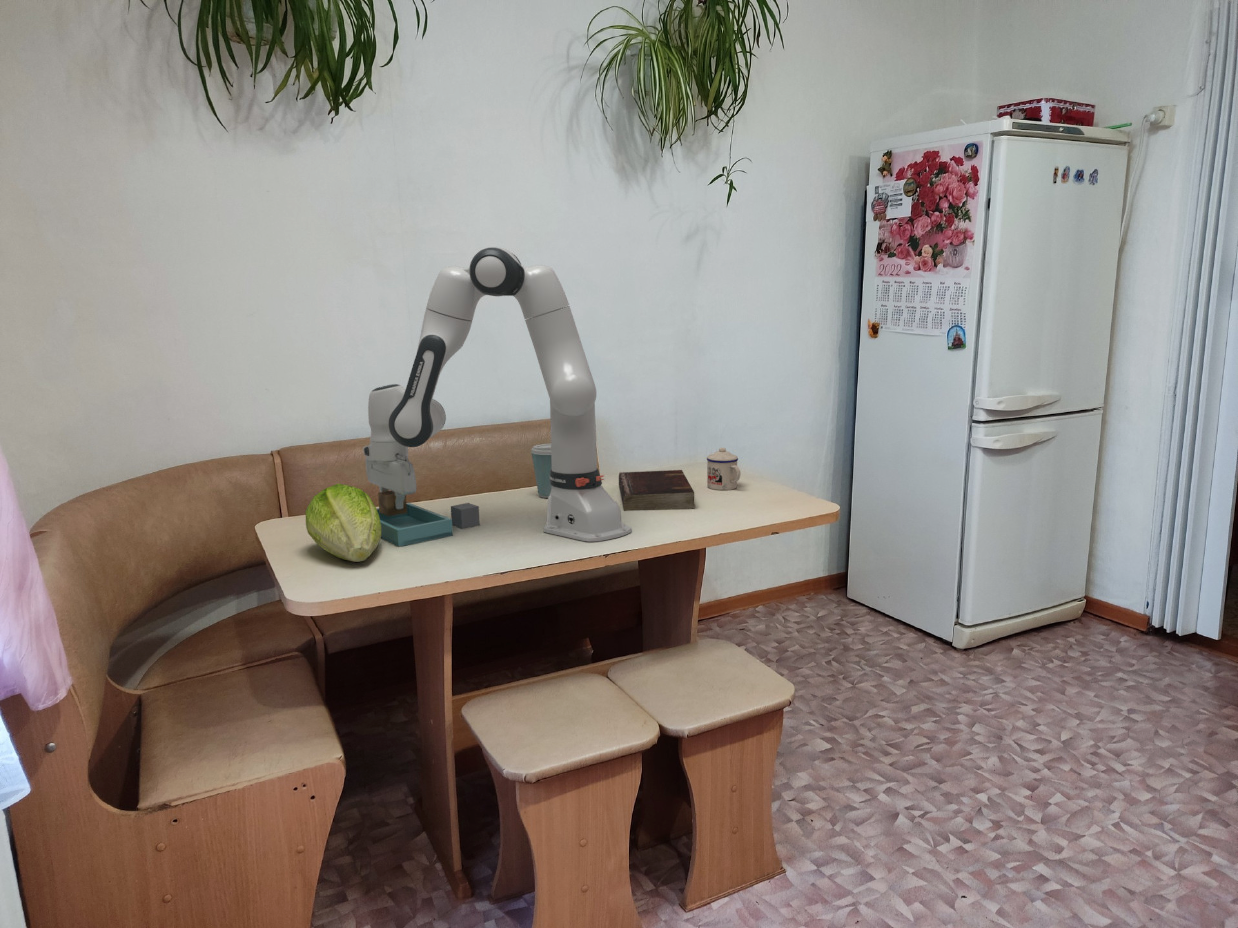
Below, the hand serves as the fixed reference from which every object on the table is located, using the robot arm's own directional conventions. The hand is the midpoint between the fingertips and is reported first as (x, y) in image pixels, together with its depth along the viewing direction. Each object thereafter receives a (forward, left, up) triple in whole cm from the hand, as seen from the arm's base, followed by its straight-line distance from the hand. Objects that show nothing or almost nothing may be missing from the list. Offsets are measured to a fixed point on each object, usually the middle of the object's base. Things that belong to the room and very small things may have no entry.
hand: (392, 506), depth 215 cm
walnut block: (0, 0, -2) cm, 2 cm away
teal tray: (-6, 0, -5) cm, 8 cm away
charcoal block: (-11, -14, -6) cm, 18 cm away
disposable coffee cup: (0, -48, -6) cm, 48 cm away
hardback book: (-21, -69, -6) cm, 72 cm away
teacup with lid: (-27, -91, -6) cm, 95 cm away
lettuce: (-14, +17, -6) cm, 23 cm away
